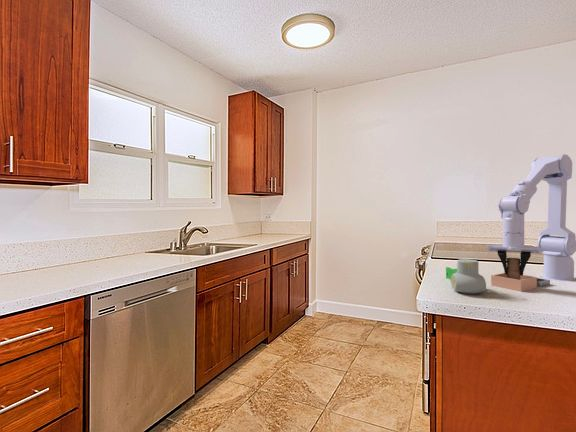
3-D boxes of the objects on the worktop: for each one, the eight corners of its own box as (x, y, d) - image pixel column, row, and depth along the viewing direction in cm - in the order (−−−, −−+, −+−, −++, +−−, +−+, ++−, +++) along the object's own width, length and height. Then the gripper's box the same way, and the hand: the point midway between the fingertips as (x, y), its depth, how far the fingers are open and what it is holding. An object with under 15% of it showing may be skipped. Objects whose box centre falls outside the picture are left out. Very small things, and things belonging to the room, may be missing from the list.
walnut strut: (507, 281, 108) (506, 257, 107) (520, 282, 106) (520, 258, 105) (506, 283, 105) (506, 258, 105) (520, 284, 103) (520, 259, 102)
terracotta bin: (506, 283, 111) (506, 272, 111) (536, 289, 103) (536, 277, 103) (491, 287, 107) (491, 275, 107) (520, 293, 99) (520, 280, 99)
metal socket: (528, 282, 112) (528, 276, 112) (549, 286, 107) (550, 280, 107) (517, 284, 109) (517, 278, 109) (539, 288, 104) (539, 282, 104)
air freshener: (449, 286, 109) (449, 257, 108) (476, 288, 107) (476, 258, 106) (457, 295, 98) (457, 263, 98) (488, 297, 96) (488, 264, 96)
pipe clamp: (469, 286, 109) (469, 273, 109) (458, 286, 110) (458, 273, 110) (456, 279, 120) (456, 266, 120) (445, 279, 121) (445, 266, 121)
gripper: (486, 233, 105) (487, 274, 106) (543, 234, 97) (543, 279, 98) (487, 231, 111) (487, 270, 112) (540, 232, 103) (540, 274, 104)
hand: (513, 274), depth 105 cm, fingers closed on walnut strut, 3 cm apart
